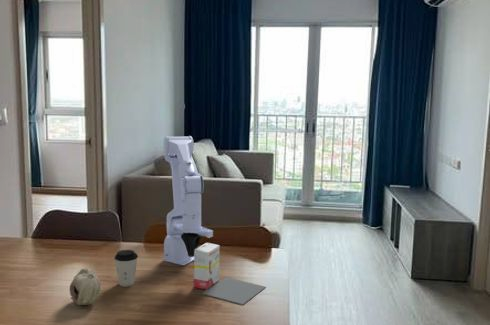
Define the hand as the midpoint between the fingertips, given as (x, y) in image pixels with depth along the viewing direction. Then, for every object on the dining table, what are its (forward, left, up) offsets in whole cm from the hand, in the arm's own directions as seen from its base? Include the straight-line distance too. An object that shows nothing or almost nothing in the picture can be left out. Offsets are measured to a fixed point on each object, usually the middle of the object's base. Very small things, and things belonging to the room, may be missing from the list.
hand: (191, 255), depth 144 cm
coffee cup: (-15, -13, -8) cm, 22 cm away
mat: (+16, 0, -8) cm, 18 cm away
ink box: (+6, 0, -8) cm, 10 cm away
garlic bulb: (-15, -29, -8) cm, 34 cm away
